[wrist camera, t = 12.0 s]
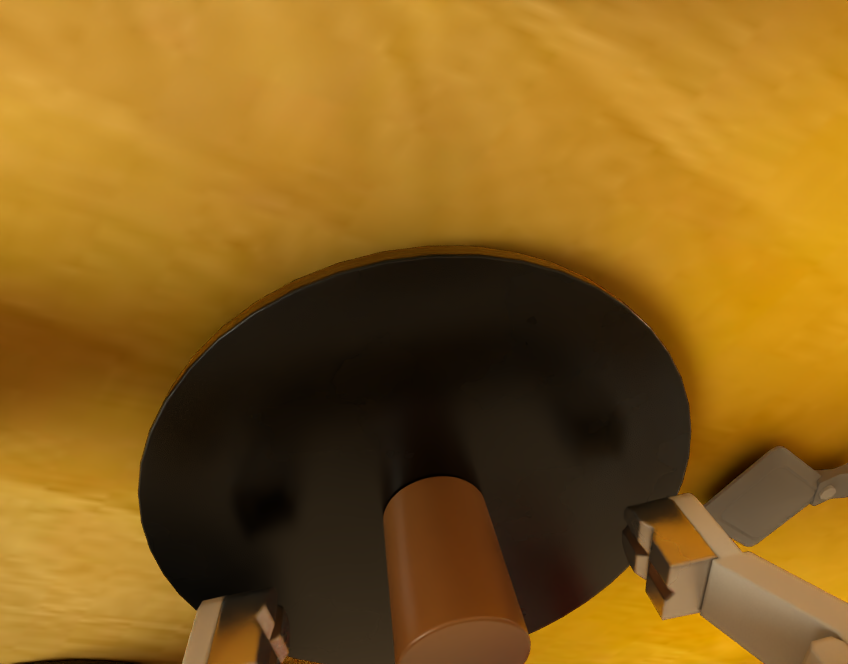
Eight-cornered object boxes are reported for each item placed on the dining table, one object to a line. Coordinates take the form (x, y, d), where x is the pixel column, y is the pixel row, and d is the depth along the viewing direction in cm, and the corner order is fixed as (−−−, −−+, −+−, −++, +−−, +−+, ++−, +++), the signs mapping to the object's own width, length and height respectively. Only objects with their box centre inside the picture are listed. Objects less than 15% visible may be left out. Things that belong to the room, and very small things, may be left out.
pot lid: (694, 182, 10) (930, 252, 6) (644, 575, 17) (741, 737, 13) (40, 304, 9) (-196, 480, 5) (256, 667, 16) (226, 871, 12)
